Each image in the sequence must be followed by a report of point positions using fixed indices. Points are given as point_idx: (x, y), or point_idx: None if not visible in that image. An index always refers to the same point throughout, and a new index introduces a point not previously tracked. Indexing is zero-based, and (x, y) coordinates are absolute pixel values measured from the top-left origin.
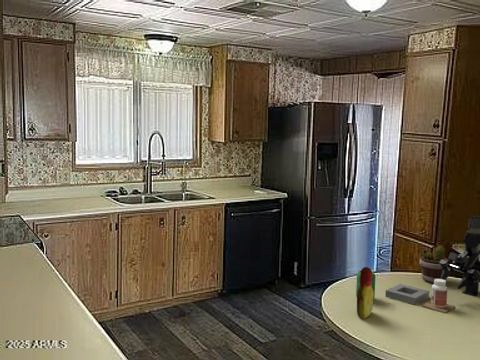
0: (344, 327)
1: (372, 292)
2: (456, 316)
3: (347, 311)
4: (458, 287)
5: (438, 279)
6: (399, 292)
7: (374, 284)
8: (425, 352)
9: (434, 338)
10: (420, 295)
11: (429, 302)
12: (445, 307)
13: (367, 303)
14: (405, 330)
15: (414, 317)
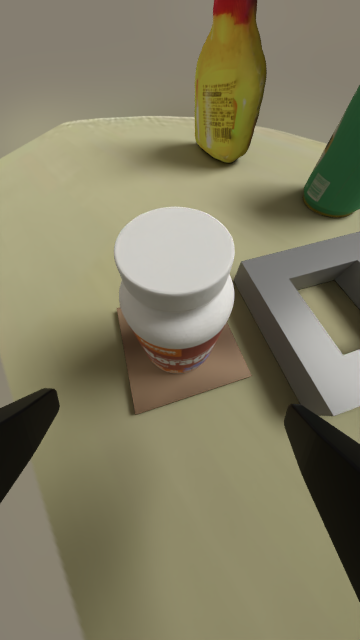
0: (182, 119)
1: (214, 64)
2: (74, 322)
3: None
4: (37, 397)
5: (208, 254)
6: (327, 256)
7: (349, 141)
8: (34, 145)
9: (48, 180)
10: (268, 304)
11: (226, 336)
12: None
13: (196, 92)
14: (112, 166)
15: None
